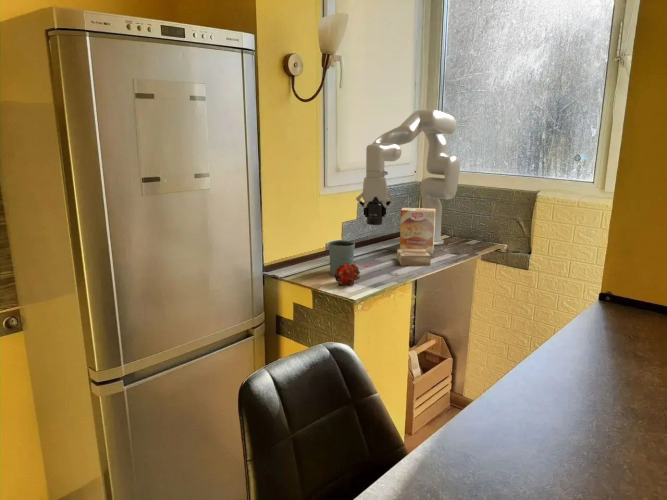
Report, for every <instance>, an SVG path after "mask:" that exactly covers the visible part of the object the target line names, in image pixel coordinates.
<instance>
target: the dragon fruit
mask: <svg viewBox="0 0 667 500" xmlns="http://www.w3.org/2000/svg"><path fill="white" fill-rule="evenodd" d="M360 272H361V271H359V267H358V266H357V265H356V263H354V262H353V263H352V264H351V265H350V264H349V263H348V262H346V265H342V264H341V265H340V267H339V268H337V269H336V274H335V275H333V277H334V279H335V281H336V282H338V286H345V285H347V284H348V285H349V286H352V285H353V284H355V281H357V280H360V276H359V275H360V274H361V273H360Z"/></svg>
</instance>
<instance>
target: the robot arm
mask: <svg viewBox="0 0 667 500" xmlns="http://www.w3.org/2000/svg"><path fill="white" fill-rule="evenodd" d="M456 129H457V121H456V118H455V117H454V116H453V115H451V114H449V113H445V112H443V111H440V110H439V109H417V110H415V111H414V112H413V113H411V114H410V115H409V116H407V118H406V119H405V120H404V122H402V123H401V124H400V125H399V126H397V127H395V128H393V129H391V130H389V131H387V132H384V133H382V134H380V136H378V137H377V138H376V139H375V140H374V141H373V142H372V143H371V144H368V145H367V146H366V149H365V150H366V154H365V155H366V156H365V159H366V160H365V168H366V169H365V170H366V171H365V177H364V178H363V184H362V185H363V186H362V192H361V193H360V194H359V195H358V196H357V197H356V198H355V200H356V201H357V202H358V204H360V205H361V206H362V208H363V216H364V217H365V218H367V204H368V202H372V200H373V198H374V197H377V199H378V200H379V202H381V203H382V204H383V218H385V217H386V215H387V208H388V206H389V205H390V204H391V203H392V202H393V201H394V199H395V197H393V196H392V195H391V194H390V193H389V192H388V185H387V178H386V177H385V176H387V175H388V174H389V172H388V171H386V170H385V162H396V161H397V160H399V159H400V158H401V155H402V149H401V147H400V146H401V145H405V144H409V143H412V142H413V141H414V140H415V139H416V138H417V136H419V135H420V134H421V133H422V132H423V133H424V134H425V136H426V138H427V141H428V151H427V158H426V171H427V173H428V174H431V175H435V176H444V178H443V177H442V178H441V177H431V176H430V177H425V178H424V179H422V181H421V183H420V186H419V187H420V195H421V208H426V209H436V211H435V232H434V246H439V245H443V244H444V242H445V240H444V239H442V238H441V237H442V214H443V213H442V212H443V206H442V202H441V200H440V199H443V200H452V199H453V198H455V196H456V195H457V191H458V186H459V185H458V184H459V178H460V170H461V162H460V160H459V158H458V156H456V155H453V154H447V150H448V149H447V148H448V142H447V140H446V137H445V135H446V136H449V135H452V134H453V133H455V131H456ZM361 198H362V200H363V201H364V202H363V201H362V200H361ZM388 198H389V199H388Z"/></svg>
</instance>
